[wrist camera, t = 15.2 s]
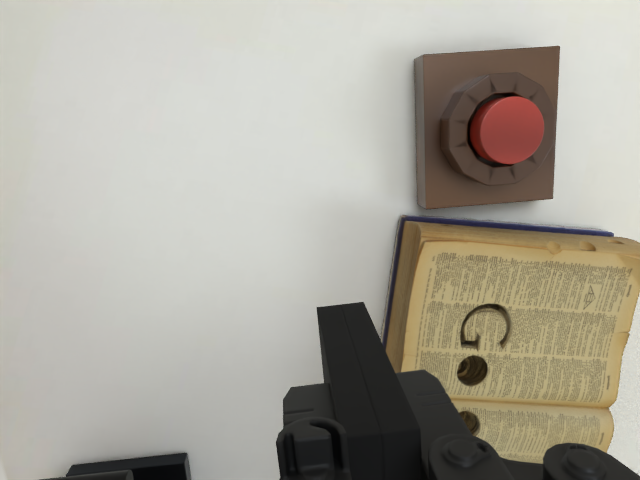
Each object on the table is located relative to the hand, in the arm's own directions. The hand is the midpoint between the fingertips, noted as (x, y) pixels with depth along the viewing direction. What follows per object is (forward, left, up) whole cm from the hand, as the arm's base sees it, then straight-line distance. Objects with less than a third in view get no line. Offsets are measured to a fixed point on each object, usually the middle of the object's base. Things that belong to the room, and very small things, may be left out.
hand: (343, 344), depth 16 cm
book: (+13, +12, -20) cm, 27 cm away
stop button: (-6, +12, -17) cm, 21 cm away
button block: (-6, +12, -20) cm, 24 cm away
